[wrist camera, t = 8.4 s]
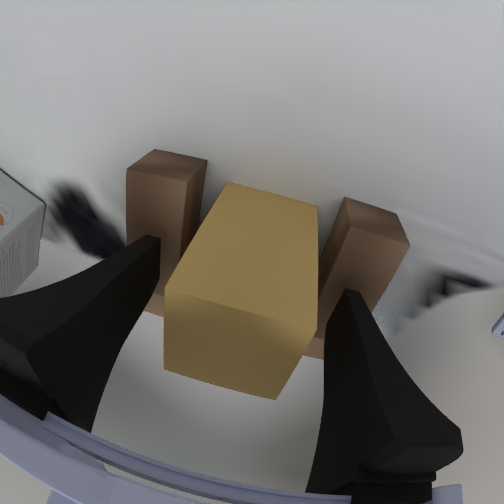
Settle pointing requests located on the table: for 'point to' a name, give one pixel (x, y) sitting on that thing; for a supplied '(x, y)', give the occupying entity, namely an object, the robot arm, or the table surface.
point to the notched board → (331, 263)
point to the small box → (18, 234)
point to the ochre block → (245, 293)
